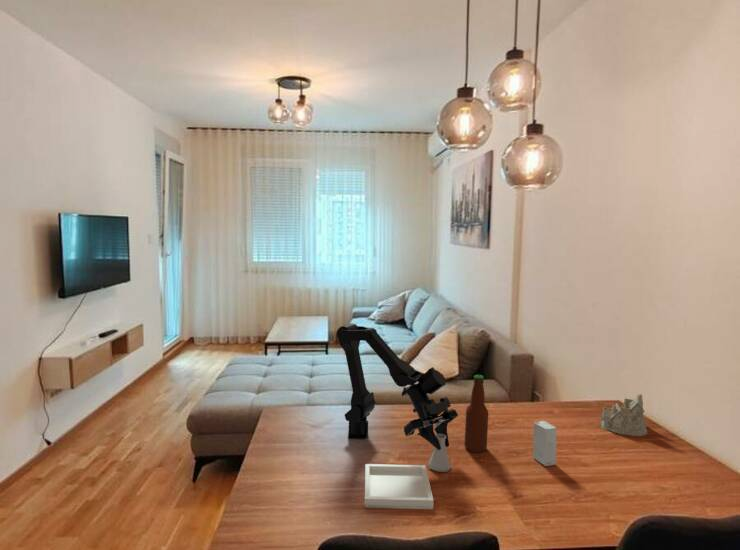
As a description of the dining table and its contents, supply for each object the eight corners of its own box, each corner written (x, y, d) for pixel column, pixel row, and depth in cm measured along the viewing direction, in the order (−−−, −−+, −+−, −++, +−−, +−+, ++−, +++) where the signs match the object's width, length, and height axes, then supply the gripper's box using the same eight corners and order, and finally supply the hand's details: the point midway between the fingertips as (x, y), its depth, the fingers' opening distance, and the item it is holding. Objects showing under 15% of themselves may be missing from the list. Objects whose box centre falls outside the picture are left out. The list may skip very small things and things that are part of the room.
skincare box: (556, 464, 147) (558, 427, 146) (544, 466, 146) (546, 429, 145) (542, 455, 153) (544, 420, 152) (531, 457, 152) (533, 421, 150)
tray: (364, 507, 122) (364, 498, 122) (365, 471, 140) (365, 463, 140) (433, 509, 123) (433, 500, 122) (425, 473, 140) (425, 465, 140)
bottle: (490, 448, 158) (494, 376, 155) (479, 455, 152) (483, 381, 150) (471, 440, 163) (474, 371, 160) (460, 447, 157) (463, 375, 155)
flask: (453, 463, 147) (454, 432, 146) (449, 474, 140) (450, 442, 139) (430, 459, 149) (431, 429, 148) (425, 470, 142) (426, 438, 141)
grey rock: (648, 423, 180) (648, 386, 179) (646, 441, 167) (647, 400, 165) (603, 416, 189) (603, 380, 187) (598, 433, 175) (598, 394, 173)
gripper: (410, 395, 140) (434, 445, 132) (455, 384, 151) (479, 429, 143) (393, 412, 147) (415, 460, 139) (437, 400, 158) (460, 444, 150)
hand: (443, 448), depth 143 cm, fingers closed on flask, 3 cm apart
